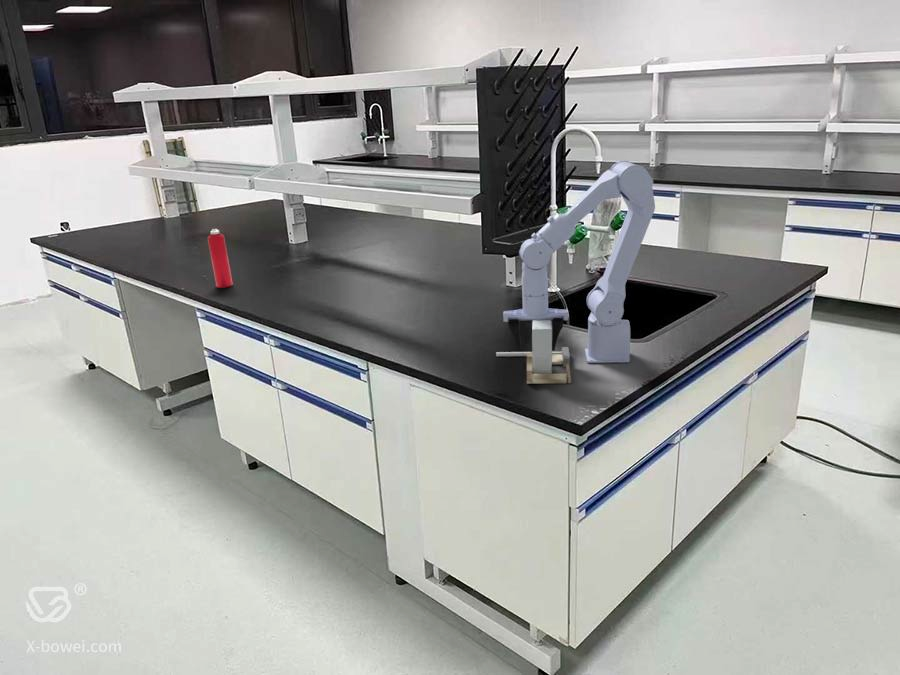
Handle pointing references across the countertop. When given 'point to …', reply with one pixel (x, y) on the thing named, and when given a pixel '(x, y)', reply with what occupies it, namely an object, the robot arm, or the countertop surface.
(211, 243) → the bottle
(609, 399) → the countertop surface
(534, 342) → the skincare box
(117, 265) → the countertop surface
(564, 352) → the rail
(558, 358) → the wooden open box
